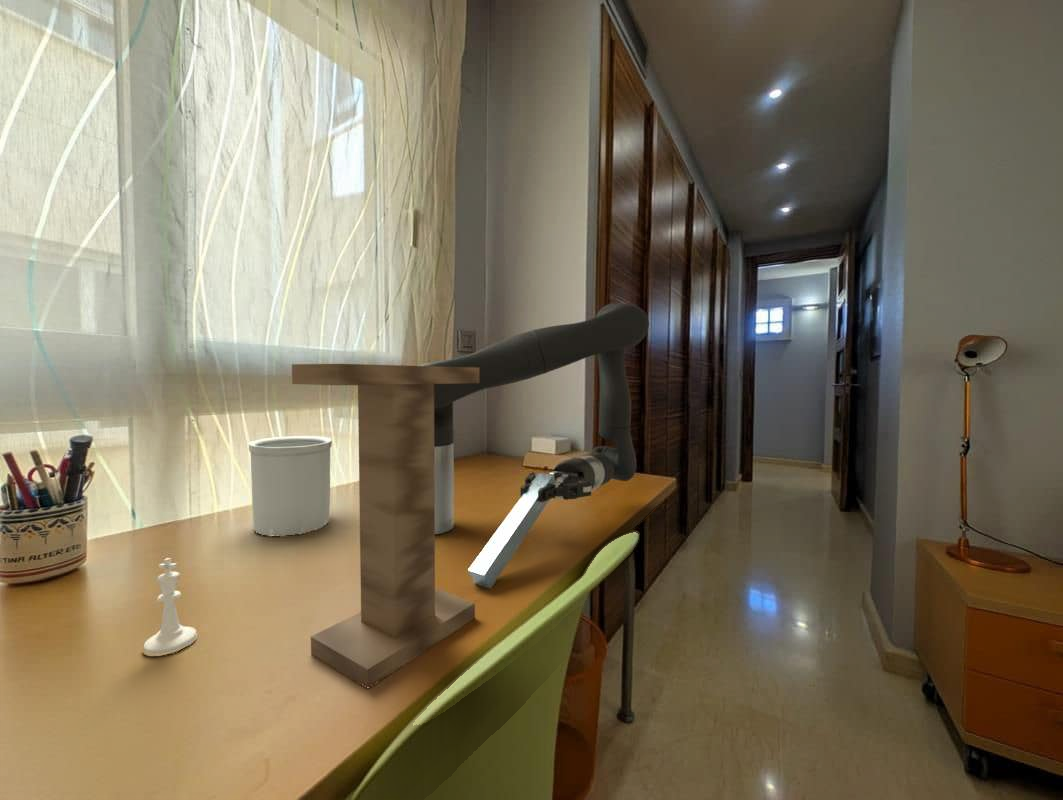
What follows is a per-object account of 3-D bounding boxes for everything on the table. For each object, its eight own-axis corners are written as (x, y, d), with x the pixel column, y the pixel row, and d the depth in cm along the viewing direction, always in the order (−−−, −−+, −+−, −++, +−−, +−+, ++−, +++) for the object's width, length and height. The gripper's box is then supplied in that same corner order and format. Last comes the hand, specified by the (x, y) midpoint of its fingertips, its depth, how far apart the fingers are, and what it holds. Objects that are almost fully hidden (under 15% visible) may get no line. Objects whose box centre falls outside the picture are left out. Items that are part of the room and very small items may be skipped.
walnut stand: (431, 591, 66) (429, 367, 64) (484, 611, 60) (485, 367, 58) (293, 663, 49) (286, 364, 47) (349, 701, 43) (344, 363, 42)
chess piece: (163, 632, 55) (160, 551, 54) (206, 631, 55) (204, 549, 54) (130, 658, 50) (127, 568, 49) (179, 656, 50) (175, 567, 50)
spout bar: (543, 485, 83) (539, 472, 82) (557, 487, 82) (553, 474, 80) (474, 583, 68) (467, 570, 67) (490, 588, 66) (483, 575, 65)
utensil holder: (347, 522, 96) (346, 439, 95) (276, 544, 83) (274, 448, 82) (307, 510, 104) (305, 434, 103) (236, 529, 91) (233, 441, 90)
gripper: (549, 454, 95) (498, 467, 81) (611, 461, 87) (567, 477, 73) (549, 489, 96) (498, 509, 81) (611, 499, 88) (567, 524, 73)
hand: (531, 494), depth 77 cm, fingers closed on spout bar, 3 cm apart
